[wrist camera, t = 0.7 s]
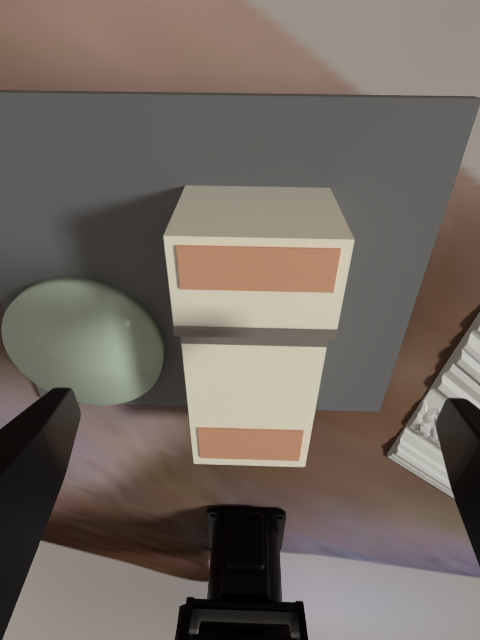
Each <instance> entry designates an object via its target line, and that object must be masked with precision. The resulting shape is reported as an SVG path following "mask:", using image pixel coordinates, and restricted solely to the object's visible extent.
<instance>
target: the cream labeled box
mask: <svg viewBox="0 0 480 640" xmlns="http://www.w3.org/2000/svg"><path fill="white" fill-rule="evenodd" d="M180 341H181V345H182V355H183V364H184V374H185V383H186V393H187V402H188V412H189V422H190V431H191V441H192V450H193V460H194V464H218V465H251V466H284V467H305V464H306V459H307V453H308V448H309V442H310V437H311V431H312V426H313V420H314V415H315V409H316V404H317V398H318V393H319V387H320V382H321V376H322V371H323V365H324V360H325V354H326V349H327V347H328V342H329V340H316V339H275V338H234V337H193V336H180Z"/></svg>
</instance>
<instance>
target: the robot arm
mask: <svg viewBox="0 0 480 640" xmlns="http://www.w3.org/2000/svg"><path fill="white" fill-rule="evenodd" d="M80 416H81V413H80V408H79V405H78V402H77V399H76V396H75V393H74V391H73V390H72V389H71V388H66V387H56V388H53V389H51V390H50V391H49V392H47V393H46V394H45V395H43V396H42V397H41V398H40V399H38V400H37V401H36V402H35V403H33V404H32V405H31V406H29V407H28V408H27V409H26V410H24V411H23V412H22V413H20V414H19V415H18V416H17V417H15V418H14V419H13V420H12V421H10V422H9V423H8V424H6V425H5V426H4V427H3V428H1V429H0V640H2V639H3V636H4V634H5V631H6V628H7V626H8V623H9V621H10V618H11V616H12V613H13V610H14V608H15V605H16V602H17V600H18V597H19V595H20V592H21V589H22V587H23V584H24V582H25V579H26V577H27V574H28V571H29V569H30V566H31V564H32V561H33V559H34V556H35V553H36V551H37V548H38V546H39V543H40V540H41V538H42V535H43V533H44V530H45V527H46V525H47V522H48V520H49V517H50V515H51V512H52V509H53V507H54V504H55V502H56V499H57V496H58V494H59V491H60V489H61V486H62V483H63V480H64V477H65V474H66V471H67V467H68V463H69V459H70V456H71V452H72V448H73V444H74V440H75V437H76V433H77V429H78V425H79V422H80ZM436 431H437V435H438V439H439V443H440V447H441V451H442V455H443V459H444V463H445V467H446V471H447V475H448V479H449V482H450V486H451V490H452V493H453V495H454V498H455V501H456V504H457V507H458V509H459V512H460V515H461V517H462V520H463V523H464V525H465V528H466V531H467V534H468V536H469V539H470V542H471V544H472V547H473V550H474V552H475V555H476V558H477V560H478V563H479V566H480V409H479V408H478V407H477V406H475V405H474V404H473V403H471V402H470V401H469V400H467V399H465V398H448V399H447V400H446V401H445V402H444V404H443V407H442V409H441V411H440V413H439V415H438V417H437V420H436ZM285 521H286V513H285V511H283V510H273V509H242V508H209V509H208V510H207V524H208V536H209V547H210V548H211V559H210V571H209V583H208V595H207V599H194V597H187V601H186V604H184V605H182V606H180V609H179V616H178V624H177V630H176V636H175V640H308V635H307V628H306V620H305V612H304V605H303V601H296V602H282V589H281V569H280V550H281V547H282V540H283V534H284V527H285ZM197 629H198V630H199V631H198V634H197Z"/></svg>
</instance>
